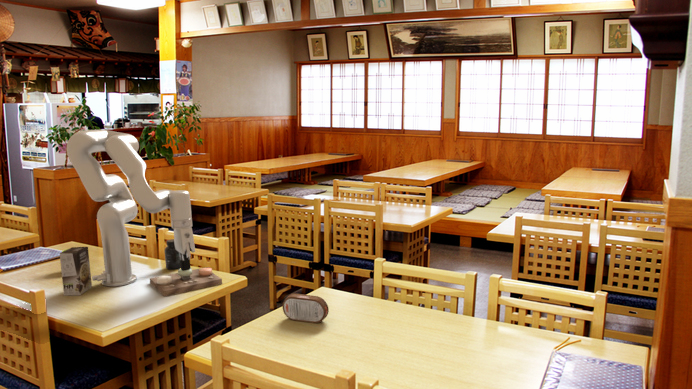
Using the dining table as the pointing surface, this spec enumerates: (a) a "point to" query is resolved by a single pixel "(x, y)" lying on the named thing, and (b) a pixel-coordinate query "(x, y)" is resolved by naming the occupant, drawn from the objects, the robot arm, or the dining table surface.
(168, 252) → the supplement bottle
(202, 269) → the terracotta button
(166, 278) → the cream button
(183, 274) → the sage button
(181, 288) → the button panel
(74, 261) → the coffee box
